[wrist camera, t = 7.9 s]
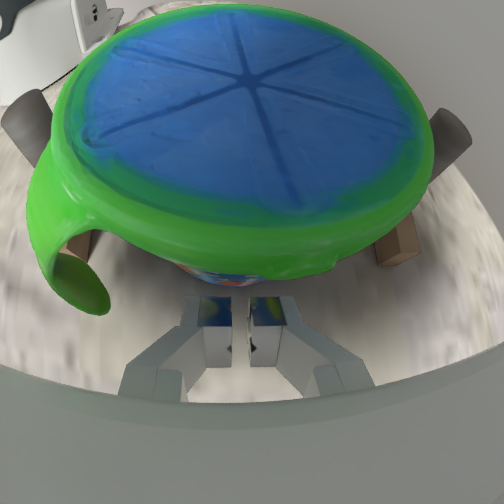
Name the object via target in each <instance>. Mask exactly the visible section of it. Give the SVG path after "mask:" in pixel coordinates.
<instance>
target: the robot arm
mask: <svg viewBox="0 0 504 504" xmlns="http://www.w3.org/2000/svg"><path fill="white" fill-rule="evenodd" d="M123 14H124V11H123V9H122V8H112V9H107V6H106V1H105V0H0V104H1V105H3V106H8V105H11V104H12V103H13V102H14V101H15V100H16V99H17V98H19V97H20V96H21V95H23V94H24V93H26V92H28V91H30V90H32V89H40V90H42V89H44V88H45V87H47V86H48V85H50V84H52V83H53V82H55V81H56V80H57V79H59V78H60V77H62V76H63V75H65V74H66V73H67V72H69V71H70V70H71V69H73V68H74V67H75V66H77V65H78V64H80V63H81V61H82V60H83V59H84V58H85V57H87V56H88V55H89V54H90V53H91V52H92V51H93V50H94V49H95V48H97V47H98V46H99V45H101V44H102V43H103V42H105V41H106V40H107V39H109V38H110V37H112V36H113V35H114V33H115V31H116V29H117V26H118V24H119V22H120V20H121V18H122V16H123ZM248 315H249V316H248V317H247V343H248V344H249V360H250V367H276V369H277V370H278V371H279V372H280V373H281V374H282V375H283V376H284V377H285V378H286V379H287V380H288V381H289V382H290V383H291V384H292V385H293V386H294V387H295V388H296V389H297V390H298V391H299V392H300V393H301V394H302V395H303V396H304V397H303V398H302V399H293V400H282V401H269V402H250V403H194V402H188V398H187V393H188V392H189V390H190V389H191V388H192V386H193V385H194V384H195V383H196V381H197V380H198V379H199V378H200V376H201V375H202V374H203V372H204V371H205V370H206V368H229V367H231V365H232V347H231V344H232V312H231V297H215V296H186V297H185V300H184V306H183V311H182V316H181V322H180V326H175V327H174V328H172V329H171V330H170V331H169V332H167V333H166V334H165V335H164V336H162V337H161V338H160V339H158V340H157V341H156V342H155V343H153V344H152V345H151V346H150V347H148V348H147V349H146V350H145V351H143V352H142V353H141V354H140V355H138V356H137V357H136V358H134V359H133V360H132V361H131V362H129V363H128V364H127V365H126V368H125V371H124V375H123V378H122V381H121V385H120V388H119V392H118V395H114V394H108V393H103V392H97V391H92V390H87V389H82V388H78V387H74V386H69V385H65V384H61V383H58V382H54V381H50V380H47V379H43V378H40V377H37V376H33V375H30V374H27V373H24V372H21V371H18V370H15V369H13V368H10V367H7V366H4V365H2V364H0V504H504V342H502V343H500V344H498V345H496V346H494V347H491V348H489V349H487V350H485V351H483V352H480V353H478V354H476V355H473V356H471V357H468V358H466V359H463V360H461V361H458V362H455V363H453V364H450V365H447V366H444V367H441V368H439V369H436V370H433V371H429V372H426V373H423V374H420V375H416V376H413V377H410V378H406V379H402V380H399V381H395V382H391V383H387V384H383V385H379V386H375V384H374V382H373V380H372V378H371V376H370V374H369V372H368V370H367V368H366V366H365V364H364V362H363V360H362V359H360V358H359V357H357V356H356V355H354V354H352V353H351V352H349V351H348V350H346V349H345V348H343V347H342V346H340V345H338V344H337V343H335V342H334V341H332V340H331V339H329V338H328V337H326V336H325V335H323V334H322V333H320V332H319V331H317V330H316V329H314V328H313V327H311V326H310V325H304V322H303V320H302V317H301V315H300V312H299V309H298V307H297V304H296V302H295V299H294V297H293V296H278V297H249V298H248Z"/></svg>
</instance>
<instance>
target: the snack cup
mask: <svg viewBox="0 0 504 504" xmlns="http://www.w3.org/2000/svg"><path fill="white" fill-rule="evenodd" d="M433 164H434V141H433V135H432V130H431V127H430V124H429V121H428V118H427V115H426V113H425V111H424V109H423V106H422V104H421V103H420V101H419V99H418V98H417V96H416V94H415V93H414V91H413V90H412V88H411V87H410V86H409V85H408V83H407V82H406V81H405V79H404V78H403V77H402V75H401V74H400V73H399V72H398V71H397V70H396V69H395V68H394V67H393V66H392V65H391V64H390V63H389V62H388V61H387V60H385V59H384V58H383V57H382V56H381V55H380V54H378V53H377V52H376V51H374V50H373V49H372V48H370V47H369V46H368V45H366V44H364V43H363V42H361V41H360V40H358V39H356V38H355V37H353V36H351V35H350V34H348V33H346V32H344V31H342V30H340V29H338V28H336V27H334V26H332V25H329V24H327V23H325V22H322V21H320V20H317V19H314V18H311V17H308V16H305V15H303V14H300V13H296V12H292V11H288V10H284V9H278V8H273V7H266V6H260V5H248V4H213V5H200V6H193V7H188V8H182V9H178V10H173V11H169V12H166V13H162V14H159V15H156V16H153V17H150V18H147V19H145V20H142V21H140V22H138V23H136V24H133V25H131V26H130V27H127V28H125V29H123V30H122V31H120V32H118V33H117V34H115V35H113V36H112V37H110V38H109V39H107V40H106V41H105V42H103V43H102V44H101V45H99V46H98V47H97V48H95V49H94V50H93V51H92V52H91V53H90V54H89V55H88V56H87V57H85V58H84V59H83V60H82V61H81V63H80V64H79V65H78V66H77V67H76V69H75V70H74V71H73V72H72V73H71V75H70V76H69V77H68V79H67V81H66V83H65V84H64V85H63V87H62V89H61V91H60V94H59V96H58V99H57V101H56V104H55V107H54V111H53V117H52V124H51V138H50V140H49V142H48V143H47V146H46V148H45V150H44V151H43V153H42V154H41V157H40V159H39V161H38V163H37V165H36V167H35V170H34V172H33V176H32V179H31V181H30V185H29V189H28V195H27V203H26V219H27V227H28V231H29V235H30V241H31V243H32V247H33V249H34V251H35V253H36V256H37V259H38V262H39V266H40V268H41V270H42V273H43V275H44V277H45V279H46V280H47V282H48V283H49V285H50V286H51V288H52V289H53V290H54V291H55V292H56V293H57V294H58V295H59V296H60V297H62V298H63V299H64V300H65V301H67V302H68V303H69V304H71V305H73V306H75V307H76V308H77V309H80V310H82V311H84V312H86V313H88V314H93V315H98V316H101V315H105V314H107V313H108V312H109V310H110V307H111V303H110V297H109V294H108V292H107V290H106V288H105V287H104V285H103V284H102V282H101V281H100V279H99V278H98V276H97V275H96V274H95V272H94V271H93V270H92V269H91V268H90V267H89V265H88V264H87V263H86V262H85V261H83V260H81V259H80V258H78V257H75V256H72V255H69V254H65V253H59V251H60V249H61V248H62V247H63V246H64V245H65V244H66V243H67V242H68V241H69V240H70V239H71V238H72V237H73V236H76V235H79V234H82V233H84V232H86V231H88V230H93V229H100V230H104V231H108V232H112V233H115V234H117V235H118V236H120V237H121V238H123V239H124V240H126V241H128V242H129V243H131V244H133V245H135V246H137V247H139V248H141V249H143V250H145V251H147V252H149V253H151V254H154V255H156V256H158V257H160V258H163V259H166V260H168V261H171V262H173V263H175V264H176V265H177V266H179V267H180V268H182V269H183V270H184V271H186V272H188V273H191V274H192V275H193V276H194V277H196V278H200V279H201V280H203V281H205V282H208V283H211V284H217V285H221V286H236V287H240V286H248V285H253V284H256V283H260V282H263V281H266V280H268V279H270V280H290V279H296V278H301V277H306V276H311V275H316V274H321V273H324V272H326V271H329V270H331V269H333V268H334V267H335V265H336V262H337V261H338V260H341V259H344V258H347V257H349V256H351V255H353V254H355V253H357V252H359V251H361V250H363V249H364V248H366V247H367V246H369V245H371V244H372V243H374V242H375V241H377V240H378V239H379V238H381V237H382V236H384V235H386V234H388V233H389V232H390V231H391V230H392V229H393V228H394V227H395V226H396V225H397V224H398V223H399V222H400V221H401V220H403V219H404V218H405V217H406V216H407V215H408V214H409V213H410V212H411V211H412V210H413V209H414V208H415V206H416V205H417V204H418V202H419V201H420V199H421V198H422V196H423V194H424V193H425V191H426V188H427V186H428V183H429V180H430V178H431V174H432V169H433Z"/></svg>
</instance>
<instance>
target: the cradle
mask: <svg viewBox="0 0 504 504" xmlns="http://www.w3.org/2000/svg"><path fill="white" fill-rule="evenodd" d="M52 117H53V113H52V111H51V109H50V108H49V106H48V104H47V102H46V100H45V98H44V96H43V94H42V92H41V90H40V89H32V90H30V91H28V92H26V93H24V94H23V95H21V96H20V97H19V98H17V99H16V100H15V101H14V102H13V103H12V104H11V105H10V106H9V107H8V109H7V110H6V111H5V113H4V115H3V117H2V119H1V126H2V127H3V129H4V130H5V131H6V133H7V134H8V135H9V137H10V138H11V139H12V141H13V142H14V143H15V145H16V146H17V147H18V149H19V150H20V151H21V152H22V154H23V155H24V156H25V157H26V159H27V160H28V161H29V162H30V163H31V165H32V166H33V167H34V168H35V167H36V165H37V163H38V161H39V159H40V157H41V154H42V153H43V151H44V150H45V148H46V146H47V143H48V142H49V140H50V138H51V124H52ZM429 124H430V127H431V130H432V135H433V141H434V164H433V169H432V174H431V178H430V180H429V183H431V182H432V181H433V180H434V179H435V178H436V177H437V176H438V175H439V174H441V173H442V172H443V171H444V170H445V169H446V168H447V167H448V166H449V165H450V164H452V163H453V162H454V161H455V160H456V159H457V158H458V157H459V156H460V155H461V154H462V153H463V152H464V151H465V150H466V149H467V148H468V147H470V145H472V138H471V135H470V133H469V132H468V130H467V128H466V127H465V125H464V124H463V123H462V122H461V121H460V120H459V119H458V118H457V117H456V116H455V115H454V114H453V113H451V112H450V111H448V110H446V109H444V108H440V109H439V110H438V111H437V112H436V113H435V114H434V116H433V117H432V118H431V119H430V120H429ZM429 183H428V184H429ZM91 234H92V230H88V231H86V232H84V233H82V234H79V235H76V236H73V237H72V238H71V239H70V240H69V241H68V242H67V243H66V244H65V245H64V246H63V247H62V248H61V249H60V251H59V253H65V254H69V255H72V256H75V257H78V258H80V259H81V260H83V261H85V262H86V263H87V259H88V252H89V246H90V240H91ZM374 243H375V249H376V256H377V262H378V265H398V264H400V263H402V262H404V261H406V260H408V259H410V258H412V257H414V256H415V255H417V254H419V253H420V248H419V243H418V238H417V233H416V229H415V225H414V221H413V216H412V213H411V212H410V213H409V214H408V215H407V216H406V217H405V218H404V219H403V220H401V221H400V222H399V223H398V224H397V225H396V226H395V227H394V228H393V229H392V230H391V231H390V232H389V233H388V234H386V235H384V236H382V237H381V238H379V239H378V240H377V241H375V242H374Z"/></svg>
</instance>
